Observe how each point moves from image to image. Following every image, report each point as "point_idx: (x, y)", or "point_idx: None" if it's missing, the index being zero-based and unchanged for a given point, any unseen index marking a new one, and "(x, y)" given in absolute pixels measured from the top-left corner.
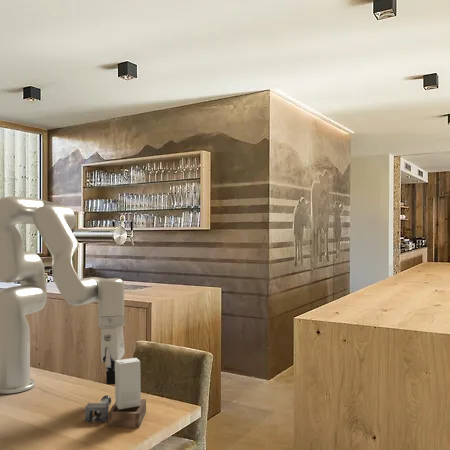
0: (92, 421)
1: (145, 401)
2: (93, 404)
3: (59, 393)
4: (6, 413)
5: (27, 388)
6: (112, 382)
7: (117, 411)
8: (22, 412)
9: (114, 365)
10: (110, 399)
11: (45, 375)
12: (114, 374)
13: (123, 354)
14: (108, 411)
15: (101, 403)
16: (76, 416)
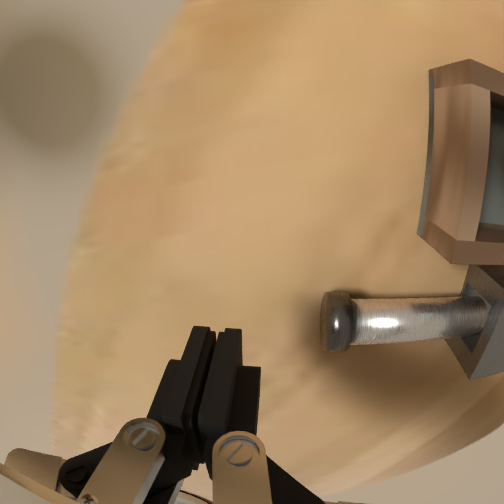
0: (488, 311)
1: (483, 66)
2: (491, 355)
3: None
4: (338, 491)
5: (179, 494)
6: (240, 365)
7: (492, 229)
8: (339, 479)
9: (269, 500)
10: (347, 304)
11: None
12: (232, 407)
13: (15, 495)
14: (488, 273)
15: (497, 327)
16: (419, 377)
